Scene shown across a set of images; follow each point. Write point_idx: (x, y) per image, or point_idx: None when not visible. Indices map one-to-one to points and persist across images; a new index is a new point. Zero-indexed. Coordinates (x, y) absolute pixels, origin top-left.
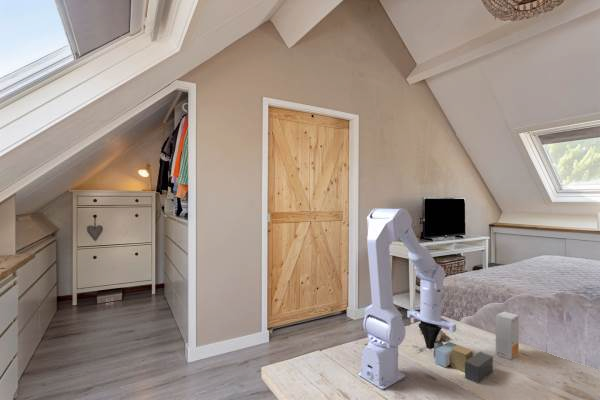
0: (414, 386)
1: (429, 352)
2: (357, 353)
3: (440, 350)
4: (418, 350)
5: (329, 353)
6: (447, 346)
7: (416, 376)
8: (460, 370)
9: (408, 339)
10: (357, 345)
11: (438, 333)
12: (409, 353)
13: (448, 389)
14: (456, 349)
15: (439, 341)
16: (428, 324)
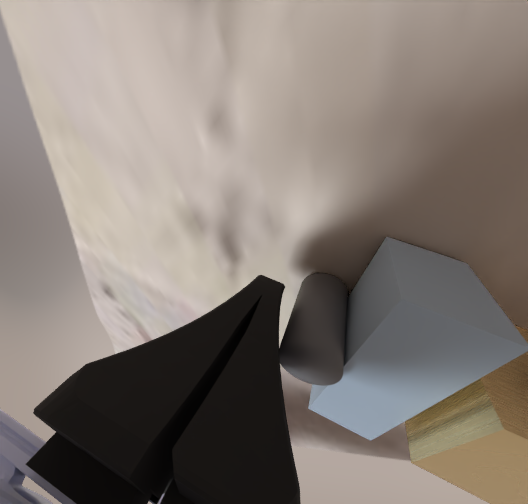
0: (296, 430)
1: (270, 254)
2: (138, 341)
3: (337, 418)
4: (224, 258)
5: (117, 352)
6: (381, 377)
7: (286, 403)
8: None
9: (129, 156)
10: (106, 306)
11: (281, 388)
12: (213, 298)
13: (381, 445)
14: (461, 475)
15: (311, 348)
16: (153, 494)
